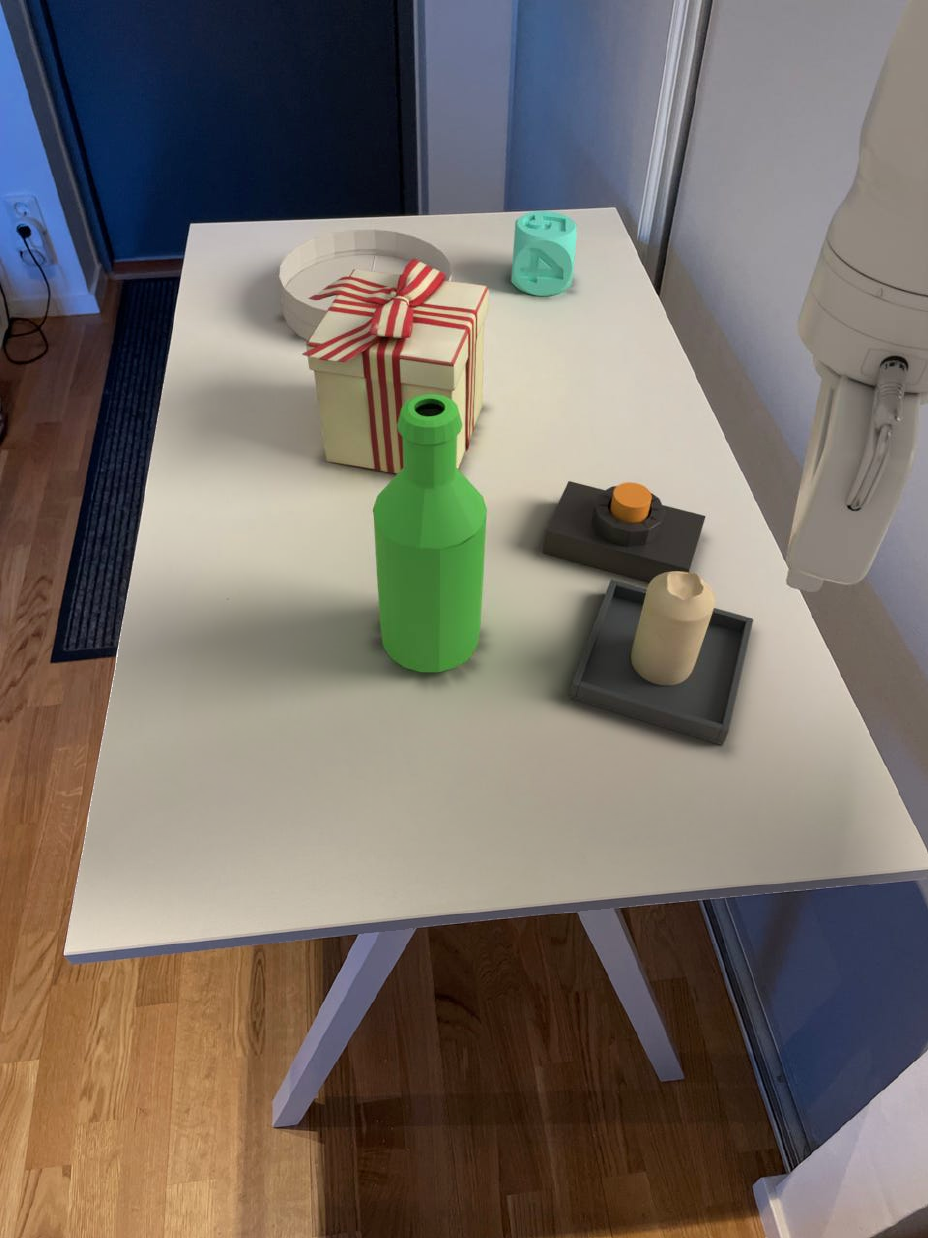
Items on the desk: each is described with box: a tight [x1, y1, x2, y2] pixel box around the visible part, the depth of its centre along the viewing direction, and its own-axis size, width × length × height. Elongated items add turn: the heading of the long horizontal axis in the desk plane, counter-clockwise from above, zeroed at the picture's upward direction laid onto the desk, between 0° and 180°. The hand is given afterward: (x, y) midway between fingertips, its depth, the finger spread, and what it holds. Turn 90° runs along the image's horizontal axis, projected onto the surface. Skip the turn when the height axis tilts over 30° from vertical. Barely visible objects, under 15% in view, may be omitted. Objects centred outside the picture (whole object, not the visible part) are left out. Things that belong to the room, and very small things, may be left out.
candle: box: [631, 571, 716, 686], centre depth 77 cm, size 6×6×10 cm
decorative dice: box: [510, 210, 578, 297], centre depth 122 cm, size 8×8×8 cm
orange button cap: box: [610, 481, 652, 523], centre depth 87 cm, size 4×4×2 cm
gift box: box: [301, 259, 490, 474], centre depth 96 cm, size 17×18×17 cm
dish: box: [278, 229, 452, 341], centre depth 118 cm, size 22×22×5 cm
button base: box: [542, 480, 706, 583], centre depth 89 cm, size 14×8×5 cm, turn 69°
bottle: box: [372, 394, 488, 673], centre depth 73 cm, size 9×9×25 cm
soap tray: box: [568, 579, 754, 746], centre depth 81 cm, size 13×13×2 cm
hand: (811, 527), depth 53 cm, fingers open, 8 cm apart
